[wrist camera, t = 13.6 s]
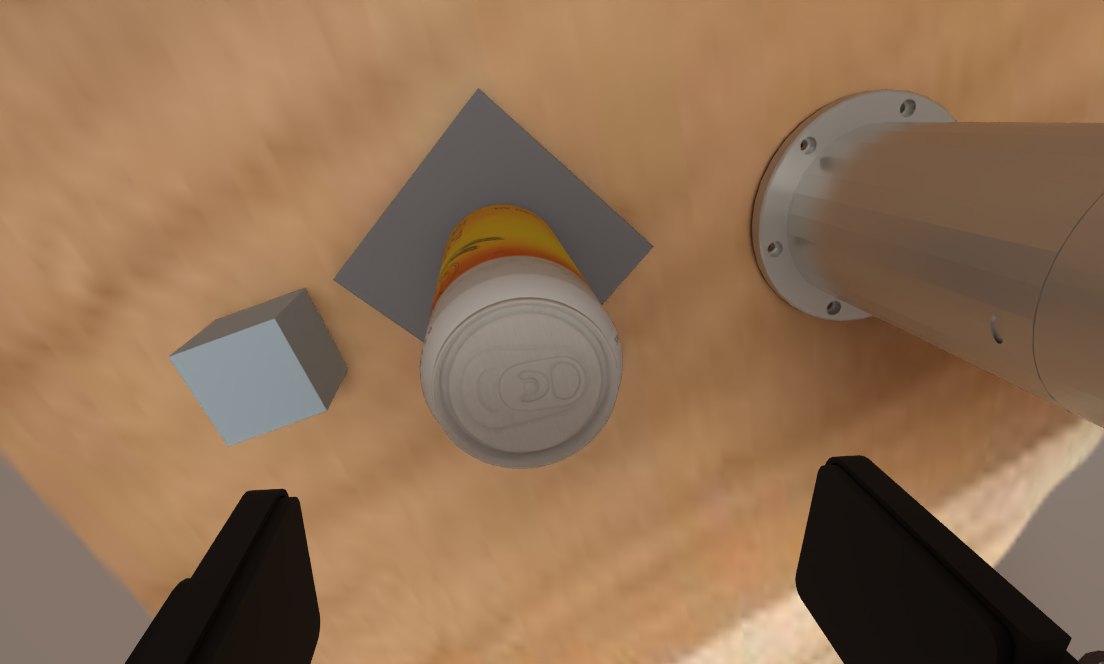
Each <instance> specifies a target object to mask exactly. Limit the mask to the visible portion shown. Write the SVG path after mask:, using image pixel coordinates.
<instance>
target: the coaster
mask: <svg viewBox="0 0 1104 664" xmlns="http://www.w3.org/2000/svg"><path fill="white" fill-rule="evenodd" d="M498 204H507V205H514V206H518V207H522V208H524V209H527V210H529V211H531V212H533V213H534V214H536V215H537V216H539V217H540V218H541V219H542V220H544V221H545V222H546V223H547V225H548V226H549V227H550V228H551V230H552V231H553V233H554V234H555V236H556V237H557V239H558V240H559V242H560V243H561V245H562V246H563V248H564V249H565V251H566V252H567V254H568V255H569V257H570V258H571V260H572V261H573V263H574V264H575V266H576V267H577V269H578V270H579V272H580V273H581V275H582V276H583V278H584V279H585V281H586V282H587V284H588V285H589V287H590V288H591V290H592V291H593V293H594V294H595V296H596V298H597V299H598V301H599V302H600V304H601V305H602V304H603V303H604V302H605V300H606V299H607V298H608V297H609V296H610V295H611V294H612V293H613V291H614V290H615V289H616V288H617V287H618V286H619V285H620V284H621V282H622V281H623V280H624V279H625V278H626V277H627V276H628V275H629V273H630V272H631V271H632V270H633V269H634V268H635V267H636V265H637V264H638V263H639V262H640V261H641V260H642V259H643V258H644V256H645V255H646V254H647V253H648V252H649V251H650V250H651V249H652V247H653V246H652V245H651V244H650V243H649V242H648V241H647V240H646V239H645V238H644V237H642V236H641V235H640V234H639V233H638V232H637V231H636V230H635V229H634V228H632V227H631V226H630V225H629V224H628V223H627V222H626V221H625V220H624V219H622V218H621V217H620V216H619V215H618V214H617V213H616V212H615V211H614V210H612V209H611V208H610V207H609V206H608V205H607V204H606V203H605V202H604V201H603V200H601V199H600V198H599V197H598V196H597V195H596V194H595V193H594V192H593V191H591V190H590V189H589V188H588V187H587V186H586V185H585V184H584V183H583V182H581V181H580V180H579V179H578V178H577V177H576V176H575V175H574V174H573V173H571V172H570V171H569V170H568V169H567V168H566V167H565V166H564V165H563V164H562V163H560V162H559V161H558V160H557V159H556V158H555V157H554V156H553V155H552V154H550V153H549V152H548V151H547V150H546V149H545V148H544V147H543V146H542V145H540V144H539V143H538V142H537V141H536V140H535V139H534V138H533V137H532V136H530V135H529V134H528V133H527V132H526V131H525V130H524V129H523V128H522V127H521V126H519V125H518V124H517V123H516V122H515V121H514V120H513V119H512V118H511V117H509V116H508V115H507V114H506V113H505V112H504V111H503V110H502V109H501V108H499V107H498V106H497V105H496V104H495V103H494V102H493V101H492V100H491V99H489V98H488V97H487V96H486V95H485V94H484V93H483V92H482V91H481V90H480V89H477V91H476V92H475V93H474V95H473V96H472V97H471V99H470V100H469V101H468V103H467V104H466V105H465V107H464V108H463V109H462V110H461V112H460V113H459V114H458V116H457V117H456V118H455V120H454V121H453V122H452V124H451V125H450V126H449V128H448V129H447V130H446V132H445V133H444V134H443V136H442V137H441V138H440V139H439V141H438V142H437V143H436V145H435V146H434V147H433V149H432V150H431V151H430V153H429V154H428V155H427V157H426V158H425V159H424V161H423V162H422V163H421V165H420V166H419V167H418V169H417V170H416V171H415V172H414V174H413V175H412V176H411V178H410V179H409V180H408V182H407V183H406V184H405V186H404V187H403V188H402V190H401V191H400V192H399V194H398V195H397V196H396V198H395V199H394V200H393V201H392V203H391V204H390V205H389V207H388V208H387V209H386V211H385V212H384V213H383V215H382V216H381V217H380V219H379V220H378V221H377V223H376V224H375V225H374V227H373V228H372V229H371V231H370V232H369V233H368V234H367V236H366V237H365V238H364V240H363V241H362V242H361V244H360V245H359V246H358V248H357V249H356V250H355V252H354V253H353V254H352V256H351V257H350V258H349V260H348V261H347V262H346V263H345V265H344V266H343V267H342V269H341V270H340V271H339V273H338V274H337V275H336V277H335V278H334V279H333V280H334V281H336V282H337V283H338V284H340V285H341V286H343V287H344V288H346V289H347V290H349V291H350V292H352V293H353V294H354V295H356V296H357V297H359V298H360V299H362V300H363V301H365V302H366V303H367V304H369V305H370V306H372V307H373V308H375V309H376V310H378V311H379V312H381V313H382V314H383V315H385V316H386V317H388V318H389V319H391V320H392V321H394V322H395V323H397V324H398V325H399V326H401V327H402V328H404V329H405V330H407V331H408V332H410V333H411V334H412V335H414V336H415V337H417V338H418V339H420V340H421V341H423V342H424V340H425V336H426V331H427V327H428V322H429V318H430V313H431V309H432V304H433V300H434V295H435V291H436V286H437V282H438V277H439V273H440V268H441V264H442V259H443V255H444V250H445V246H446V243H447V241H448V238H449V236H450V234H451V233H452V231H453V230H454V228H455V227H456V226H457V225H458V223H459V222H460V221H461V220H463V219H464V218H465V217H466V216H468V215H469V214H471V213H472V212H474V211H476V210H478V209H481V208H483V207H487V206H491V205H498Z"/></svg>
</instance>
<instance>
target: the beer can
mask: <svg viewBox="0 0 1104 664" xmlns="http://www.w3.org/2000/svg"><path fill="white" fill-rule="evenodd" d="M622 370H623V355H622V347H621V343H620V339H619V336H618V333H617V331H616V328H615V326H614V324H613V323H612V321H611V319H610V317H609V316H608V314H607V313H606V311H605V310H604V308H603V307H602V305H601V304H600V302H599V301H598V299H597V298H596V296H595V294H594V293H593V291H592V290H591V288H590V287H589V285H588V284H587V282H586V281H585V279H584V278H583V276H582V275H581V273H580V272H579V270H578V269H577V267H576V266H575V264H574V263H573V261H572V260H571V258H570V257H569V255H568V254H567V252H566V251H565V249H564V248H563V246H562V245H561V243H560V242H559V240H558V239H557V237H556V236H555V234H554V233H553V231H552V230H551V228H550V227H549V226H548V225H547V223H546V222H545V221H544V220H542V219H541V218H540V217H539V216H537V215H536V214H534V213H533V212H531V211H529V210H527V209H524V208H522V207H518V206H514V205H507V204H498V205H491V206H487V207H483V208H481V209H478V210H476V211H474V212H472V213H471V214H469V215H468V216H466V217H465V218H464V219H463V220H461V221H460V222H459V223H458V225H457V226H456V227H455V228H454V230H453V231H452V233H451V234H450V236H449V238H448V241H447V243H446V246H445V250H444V255H443V259H442V264H441V268H440V273H439V277H438V282H437V286H436V291H435V295H434V300H433V304H432V309H431V313H430V318H429V322H428V327H427V331H426V336H425V340H424V345H423V349H422V354H421V361H420V379H421V386H422V390H423V394H424V397H425V400H426V402H427V405H428V407H429V409H430V411H431V412H432V414H433V416H434V417H435V419H436V420H437V421H438V422H439V424H440V425H441V426H442V427H443V429H444V431H445V432H446V433H447V435H448V436H449V437H450V439H451V440H452V441H453V442H454V443H455V444H456V445H457V446H459V447H460V448H461V449H462V450H464V451H465V452H466V453H468V454H470V455H471V456H473V457H475V458H477V459H479V460H481V461H483V462H486V463H489V464H492V465H496V466H500V467H506V468H517V469H525V468H535V467H542V466H546V465H549V464H553V463H556V462H558V461H561V460H563V459H565V458H567V457H569V456H571V455H573V454H575V453H576V452H578V451H579V450H581V449H582V448H583V447H585V446H586V445H587V444H588V443H590V442H591V441H592V440H593V439H594V438H595V437H596V436H597V434H598V433H599V432H600V431H601V430H602V428H603V427H604V425H605V424H606V422H607V421H608V419H609V417H610V415H611V413H612V410H613V408H614V405H615V402H616V398H617V393H618V390H619V386H620V382H621V378H622Z"/></svg>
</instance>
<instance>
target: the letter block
mask: <svg viewBox="0 0 1104 664" xmlns="http://www.w3.org/2000/svg"><path fill="white" fill-rule="evenodd" d="M169 359H170V360H171V362H172V363H173V365H174V366H175V368H176V369H177V371H178V372H179V374H180V375H181V377H182V378H183V380H184V381H185V383H186V384H187V386H188V387H189V389H190V390H191V392H192V393H193V395H194V396H195V398H196V399H197V401H198V402H199V404H200V405H201V407H202V408H203V410H204V411H205V413H206V414H207V416H208V417H209V419H210V420H211V422H212V423H213V425H214V426H215V428H216V429H217V431H218V432H219V434H220V435H221V437H222V438H223V440H224V441H225V443H226V444H227V446H228V447H229V446H231V445H234V444H237V443H240V442H242V441H245V440H248V439H251V438H253V437H256V436H259V435H262V434H265V433H267V432H270V431H273V430H276V429H278V428H281V427H284V426H287V425H289V424H292V423H295V422H298V421H300V420H303V419H306V418H309V417H311V416H314V415H317V414H320V413H322V412H325V411H327V410H328V408H329V406H330V404H331V402H332V400H333V398H334V396H335V394H336V392H337V390H338V388H339V386H340V384H341V382H342V380H343V378H344V376H345V374H346V372H347V370H348V367H347V365H346V363H345V361H344V360H343V358H342V356H341V354H340V352H339V350H338V348H337V346H336V344H335V343H334V341H333V339H332V337H331V335H330V333H329V331H328V329H327V328H326V326H325V324H324V322H323V320H322V318H321V316H320V314H319V313H318V311H317V309H316V307H315V305H314V303H313V301H312V299H311V298H310V296H309V294H308V292H307V290H306V288H303V289H300V290H297V291H295V292H292V293H289V294H286V295H284V296H281V297H278V298H275V299H273V300H270V301H267V302H264V303H261V304H259V305H256V306H253V307H250V308H248V309H245V310H242V311H239V312H237V313H234V314H231V315H228V316H226V317H223V318H220V319H217V320H215V321H214V322H212V323H211V324H210V325H209V326H207V327H206V328H205V329H203V330H202V331H201V332H200V333H198V334H197V335H196V336H195V337H193V338H192V339H191V340H189V341H188V342H187V343H186V344H184V345H183V346H182V347H180V348H179V349H178V350H177V351H175V352H174V353H173V354H171V355H170V356H169Z"/></svg>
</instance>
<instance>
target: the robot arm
mask: <svg viewBox="0 0 1104 664" xmlns="http://www.w3.org/2000/svg"><path fill="white" fill-rule="evenodd" d="M802 142H803V146H802V148H801V143H802ZM800 148H801V149H800ZM752 236H753V248H754V251H755V255H756V259H757V263H758V266H759V268H760V270H761V272H762V274H763V276H764V278H765V280H766V282H767V283H768V284H769V285H770V286H771V288H772V289H773V290H774V291H775V293H776V294H777V295H778V296H779V297H781V298H782V299H783V300H785V301H786V302H787V303H789V304H790V305H791V306H793V307H795V308H797V309H799V310H800V311H802V312H804V313H806V314H808V315H811V316H814V317H817V318H821V319H824V320H834V321H850V320H860V319H864V318H868V317H871V316H875V317H877V318H879V319H881V320H883V321H885V322H887V323H889V324H891V325H893V326H895V327H897V328H899V329H901V330H903V331H905V332H907V333H909V334H911V335H913V336H915V337H917V338H920V339H922V340H924V341H926V342H928V343H930V344H932V345H934V346H936V347H938V348H940V349H942V350H944V351H946V352H948V353H950V354H952V355H954V356H956V357H958V358H960V359H962V360H964V361H966V362H969V363H971V364H973V365H975V366H977V367H979V368H981V369H983V370H985V371H987V372H989V373H991V374H993V375H995V376H997V377H999V378H1001V379H1003V380H1005V381H1007V382H1009V383H1011V384H1013V385H1015V386H1018V387H1020V388H1022V389H1024V390H1026V391H1028V392H1030V393H1032V394H1034V395H1036V396H1038V397H1040V398H1042V399H1044V400H1046V401H1048V402H1050V403H1052V404H1054V405H1056V406H1058V407H1060V408H1062V409H1064V410H1066V411H1069V412H1071V413H1074V414H1076V415H1078V416H1080V417H1082V418H1084V419H1086V420H1088V421H1090V422H1092V423H1094V424H1097V425H1099V426H1101V427H1103V428H1104V123H1021V122H957V121H956V120H955V119H954V117H953V116H952V115H951V114H950V113H949V112H948V111H947V110H946V109H945V108H944V107H943V106H941V105H939V104H938V103H936V102H935V101H933V100H931V99H930V98H928V97H926V96H923V95H920V94H916V93H913V92H910V91H903V90H887V89H886V90H875V91H865V92H861V93H857V94H854V95H850V96H846V97H843V98H841V99H839V100H837V101H835V102H833V103H831V104H829V105H827V106H825V107H823V108H821V109H820V110H818V111H817V112H816V113H814V114H813V115H812V116H810V117H809V118H808V119H806V120H805V121H803V122H802V123H801V124H800V125H799V126H798V127H797V128H796V129H795V131H794V132H793V133H792V134H791V135H790V136H789V137H788V138H787V139H786V140H785V141H784V143H783V144H782V146H781V147H780V148H779V150H778V151H777V153H776V154H775V155H774V157H773V158H772V160H771V162H770V164H769V166H768V168H767V170H766V172H765V174H764V176H763V178H762V180H761V183H760V187H759V190H758V193H757V197H756V200H755V203H754V211H753V220H752ZM770 244H771V247H770V248H769V249H768V247H769V245H770ZM795 581H796V587H797V591H798V594H799V596H800V598H801V600H802V601H803V603H804V604H805V606H806V607H807V609H808V610H809V612H810V613H811V615H812V616H813V618H814V619H815V621H816V622H817V624H818V625H819V627H820V628H821V630H822V631H823V633H824V634H825V636H826V637H827V639H828V640H829V642H830V643H831V645H832V646H833V648H834V649H835V651H836V652H837V654H838V655H839V657H840V658H841V660H842V661H843V663H844V664H1104V651H1094V652H1089V653H1085V654H1084V655H1083V656H1082V657H1081V659H1079V660H1078V661H1077V660H1076V659H1075V658H1074V657H1073V656H1072V655H1071V654H1070V653H1068V652H1067V651H1066V649H1067V647H1068V645H1069V643H1070V641H1071V637H1070V636H1069V635H1068V634H1067V633H1066V632H1065V631H1063V630H1062V629H1061V628H1060V627H1059V626H1058V625H1057V624H1055V623H1054V622H1053V621H1052V620H1051V619H1050V618H1049V617H1047V616H1046V615H1045V614H1044V613H1043V612H1042V611H1041V610H1039V609H1038V608H1037V607H1036V606H1035V605H1034V604H1033V603H1032V602H1031V601H1029V600H1028V599H1027V598H1026V597H1025V596H1024V595H1023V594H1021V593H1020V592H1019V591H1018V590H1017V589H1016V588H1015V587H1013V586H1012V585H1011V584H1010V583H1009V582H1008V581H1007V580H1006V579H1004V578H1003V577H1002V576H1001V575H1000V574H999V573H998V572H996V571H995V570H994V569H993V568H992V567H991V566H990V565H989V564H987V563H986V562H985V561H984V560H983V559H982V558H981V557H979V556H978V555H977V554H976V553H975V552H974V551H973V550H972V549H970V548H969V547H968V546H967V545H966V544H965V543H964V542H962V541H961V540H960V539H959V538H958V537H957V536H956V535H954V534H953V533H952V532H951V531H950V530H949V529H948V528H947V527H945V526H944V525H943V524H942V523H941V522H940V521H939V520H937V519H936V518H935V517H934V516H933V515H932V514H931V513H930V512H928V511H927V510H926V509H925V508H924V507H923V506H922V505H920V504H919V503H918V502H917V501H916V500H915V499H914V498H912V497H911V496H910V495H909V494H908V493H907V492H906V491H905V490H903V489H902V488H901V487H900V486H899V485H898V484H897V483H895V482H894V481H893V480H892V479H891V478H890V477H889V476H888V475H886V474H885V473H884V472H883V471H882V470H881V469H880V468H878V467H877V466H876V465H875V464H874V463H873V462H872V461H871V460H869V459H868V458H866V457H865V456H860V455H857V456H840V457H832V458H829V459H828V461H827V462H826V464H825V465H824V466H821V467H820V469H819V471H818V474H817V479H816V484H815V488H814V493H813V498H812V502H811V507H810V512H809V516H808V521H807V525H806V530H805V535H804V539H803V544H802V549H801V553H800V558H799V563H798V567H797V572H796V578H795ZM319 632H320V613H319V608H318V602H317V597H316V591H315V585H314V580H313V574H312V568H311V563H310V557H309V552H308V546H307V540H306V535H305V529H304V523H303V518H302V512H301V507H300V502H299V499H298V498H297V497H289V496H288V493H287V491H286V490H285V489H269V490H252V491H247V492H246V493H245V494H244V495H243V496H242V498H241V500H240V501H239V503H238V504H237V506H236V507H235V509H234V511H233V512H232V514H231V515H230V517H229V518H228V520H227V522H226V523H225V525H224V526H223V528H222V530H221V531H220V533H219V534H218V536H217V537H216V539H215V541H214V542H213V544H212V545H211V547H210V548H209V550H208V552H207V553H206V555H205V556H204V558H203V560H202V561H201V563H200V564H199V566H198V567H197V569H196V571H195V572H194V574H193V575H192V577H191V578H186V579H185V580H183V581H181V582H180V583H179V584H178V585H177V586H176V587H175V588H174V590H173V591H172V592H171V594H170V595H169V597H168V598H167V600H166V601H165V603H164V604H163V606H162V607H161V609H160V610H159V612H158V614H157V615H156V617H155V618H154V620H153V621H152V623H151V624H150V626H149V627H148V629H147V630H146V632H145V633H144V635H143V636H142V638H141V639H140V641H139V643H138V644H137V646H136V647H135V649H134V650H133V652H132V653H131V655H130V656H129V658H128V659H127V661H126V662H125V664H311V660H312V657H313V654H314V651H315V648H316V644H317V641H318V637H319Z"/></svg>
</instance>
